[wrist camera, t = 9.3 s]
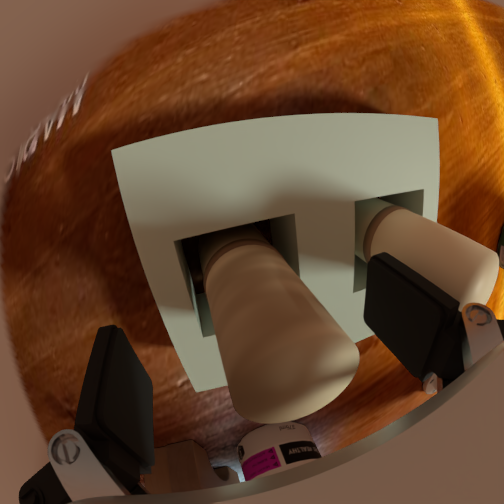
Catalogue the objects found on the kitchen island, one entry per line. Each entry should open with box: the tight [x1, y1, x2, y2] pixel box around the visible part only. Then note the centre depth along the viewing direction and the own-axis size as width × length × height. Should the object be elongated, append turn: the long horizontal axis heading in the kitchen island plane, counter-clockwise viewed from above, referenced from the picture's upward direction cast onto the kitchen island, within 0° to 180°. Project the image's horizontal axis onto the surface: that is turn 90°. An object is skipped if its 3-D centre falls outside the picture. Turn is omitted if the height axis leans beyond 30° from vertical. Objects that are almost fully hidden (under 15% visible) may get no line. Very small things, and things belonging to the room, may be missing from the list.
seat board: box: [111, 113, 499, 392], centre depth 12 cm, size 16×13×10 cm
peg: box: [198, 223, 359, 424], centre depth 11 cm, size 4×4×10 cm
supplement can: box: [236, 421, 322, 481], centre depth 19 cm, size 8×8×15 cm
